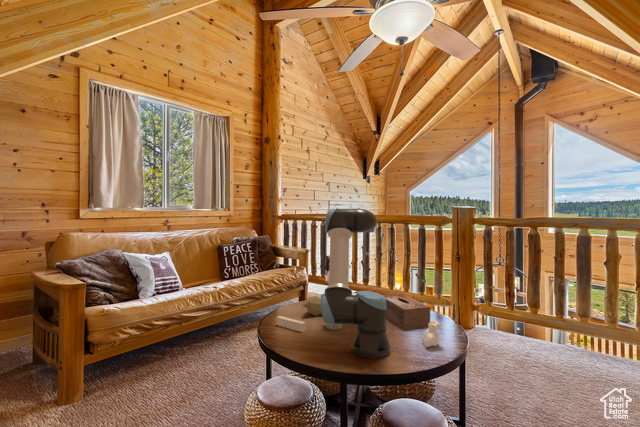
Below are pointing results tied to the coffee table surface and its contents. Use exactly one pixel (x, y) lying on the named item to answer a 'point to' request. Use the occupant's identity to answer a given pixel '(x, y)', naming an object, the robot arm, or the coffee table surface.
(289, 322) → the rail
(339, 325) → the pale green egg
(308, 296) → the cream capsule
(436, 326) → the bust
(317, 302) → the low-poly potato
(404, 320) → the tissue box cover
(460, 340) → the coffee table surface
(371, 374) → the coffee table surface
